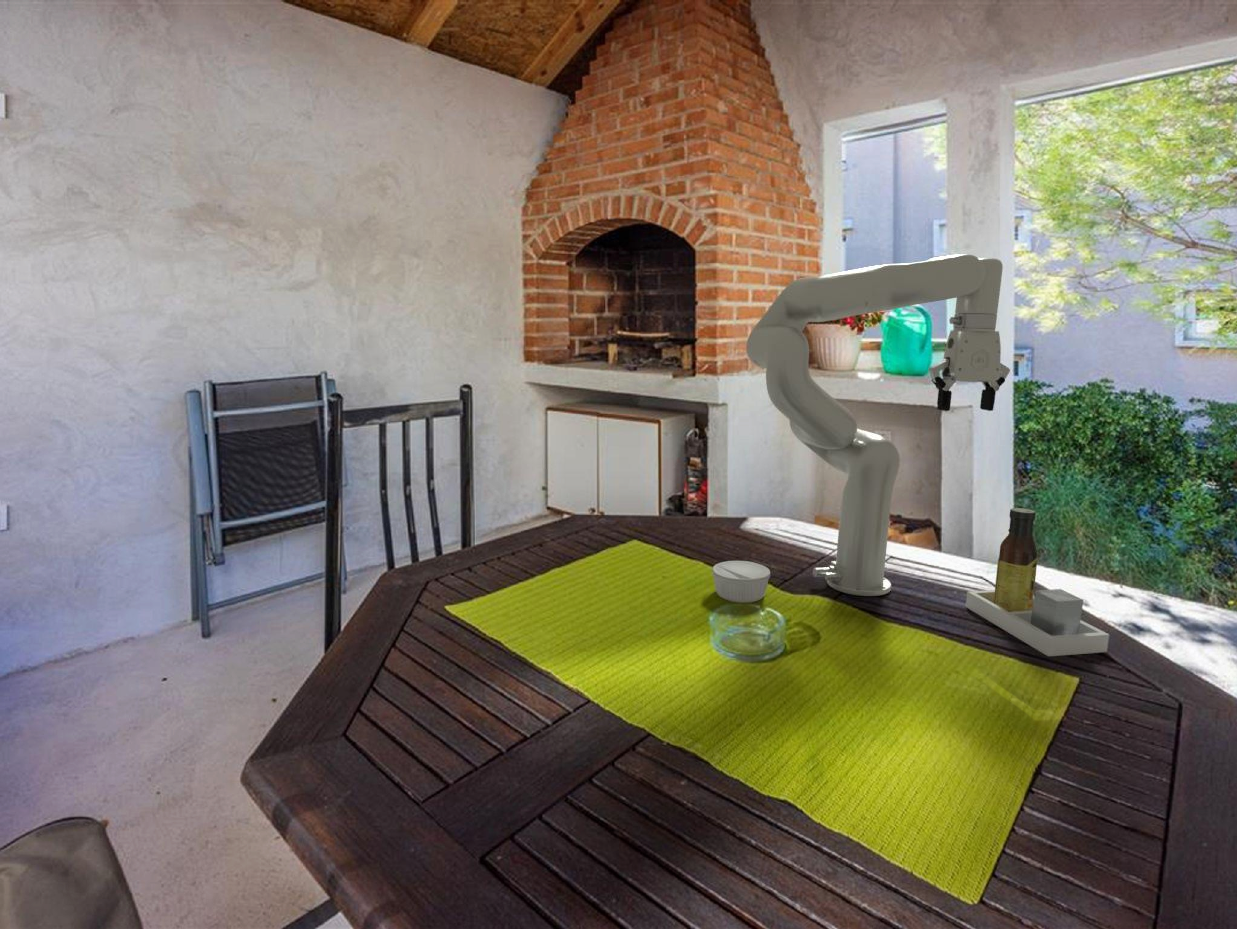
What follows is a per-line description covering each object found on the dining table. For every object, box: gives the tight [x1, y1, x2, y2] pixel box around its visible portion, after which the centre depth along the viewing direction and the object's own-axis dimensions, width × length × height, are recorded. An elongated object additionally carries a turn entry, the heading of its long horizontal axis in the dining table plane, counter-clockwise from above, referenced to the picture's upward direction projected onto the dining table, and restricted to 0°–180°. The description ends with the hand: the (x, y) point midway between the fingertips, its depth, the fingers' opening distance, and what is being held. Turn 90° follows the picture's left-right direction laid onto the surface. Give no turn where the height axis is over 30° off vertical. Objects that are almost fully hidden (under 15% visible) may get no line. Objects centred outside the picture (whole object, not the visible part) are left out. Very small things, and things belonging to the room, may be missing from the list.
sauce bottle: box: [994, 507, 1039, 612], centre depth 134 cm, size 7×6×20 cm
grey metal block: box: [1030, 588, 1084, 636], centre depth 126 cm, size 5×5×8 cm
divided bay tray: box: [965, 589, 1110, 657], centre depth 131 cm, size 21×11×4 cm, turn 11°
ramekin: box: [711, 560, 771, 604], centre depth 147 cm, size 11×11×5 cm
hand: (965, 410), depth 150 cm, fingers open, 9 cm apart
